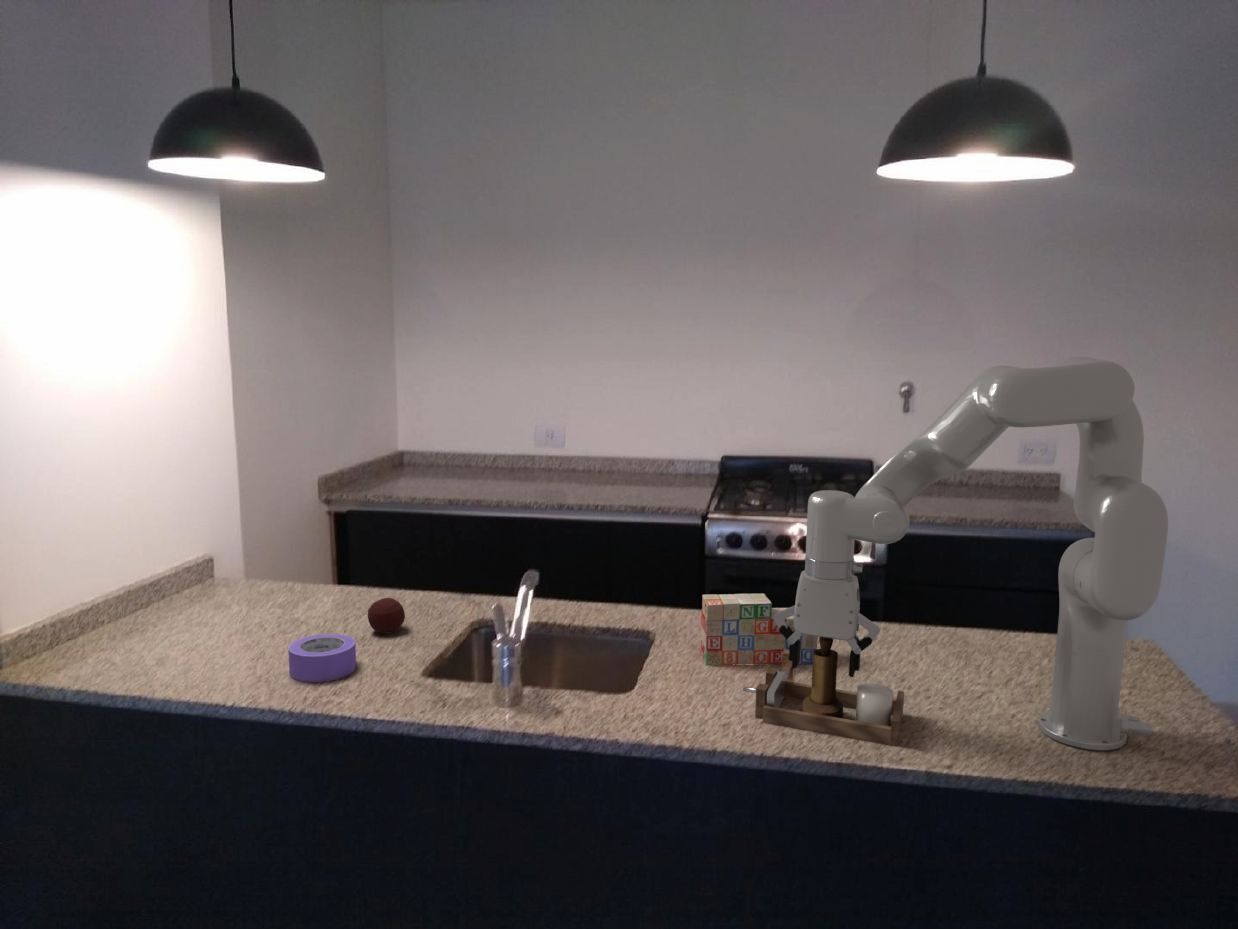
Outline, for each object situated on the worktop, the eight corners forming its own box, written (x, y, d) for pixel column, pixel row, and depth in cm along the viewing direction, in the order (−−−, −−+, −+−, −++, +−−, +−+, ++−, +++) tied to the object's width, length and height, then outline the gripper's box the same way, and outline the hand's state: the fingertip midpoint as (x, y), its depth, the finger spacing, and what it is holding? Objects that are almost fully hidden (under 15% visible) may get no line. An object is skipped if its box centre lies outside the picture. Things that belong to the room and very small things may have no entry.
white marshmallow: (892, 721, 147) (894, 686, 146) (888, 735, 142) (891, 700, 141) (857, 715, 149) (859, 681, 148) (853, 729, 144) (855, 694, 143)
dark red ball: (361, 636, 183) (360, 602, 182) (381, 623, 190) (380, 591, 189) (393, 640, 181) (392, 606, 180) (412, 627, 188) (411, 595, 187)
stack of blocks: (808, 652, 177) (810, 592, 175) (816, 664, 171) (819, 602, 168) (700, 653, 175) (701, 593, 173) (705, 666, 169) (706, 603, 167)
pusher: (794, 682, 162) (795, 650, 161) (775, 719, 147) (777, 685, 146) (758, 676, 164) (759, 645, 163) (736, 712, 149) (737, 678, 148)
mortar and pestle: (794, 715, 149) (799, 611, 146) (816, 704, 153) (821, 603, 150) (828, 729, 144) (834, 622, 141) (850, 717, 148) (856, 612, 145)
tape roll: (333, 653, 174) (332, 628, 173) (369, 668, 167) (368, 643, 166) (277, 671, 165) (275, 645, 164) (312, 688, 158) (310, 661, 157)
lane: (902, 714, 150) (904, 685, 149) (896, 746, 139) (898, 715, 138) (769, 692, 158) (770, 665, 157) (753, 720, 147) (754, 691, 146)
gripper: (887, 567, 145) (880, 669, 148) (779, 556, 151) (775, 654, 154) (882, 580, 138) (875, 687, 141) (770, 567, 144) (766, 670, 147)
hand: (823, 669), depth 147 cm, fingers open, 8 cm apart
